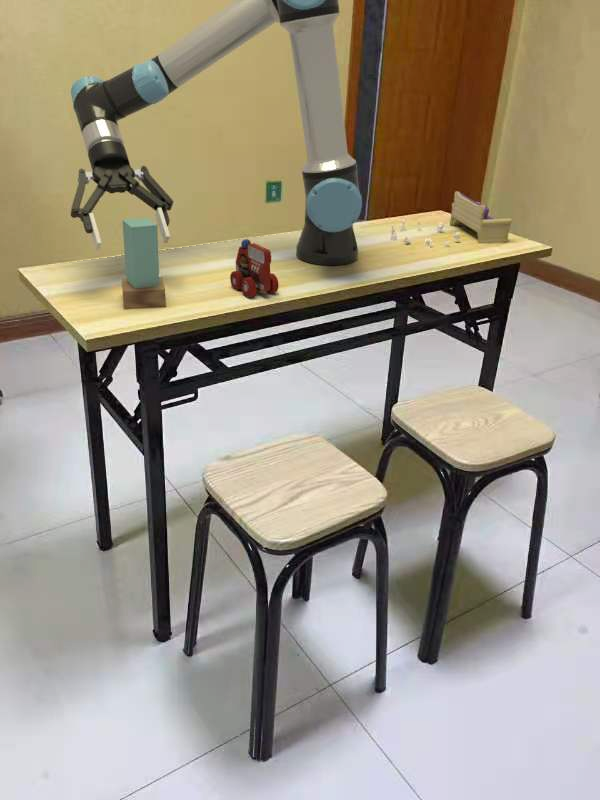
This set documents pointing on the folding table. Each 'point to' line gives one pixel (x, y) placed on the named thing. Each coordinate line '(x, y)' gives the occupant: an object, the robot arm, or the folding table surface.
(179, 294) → the folding table surface
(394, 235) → the game piece set
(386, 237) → the folding table surface
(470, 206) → the toy sofa
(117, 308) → the folding table surface
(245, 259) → the toy fire truck
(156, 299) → the slab
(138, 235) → the pillar
